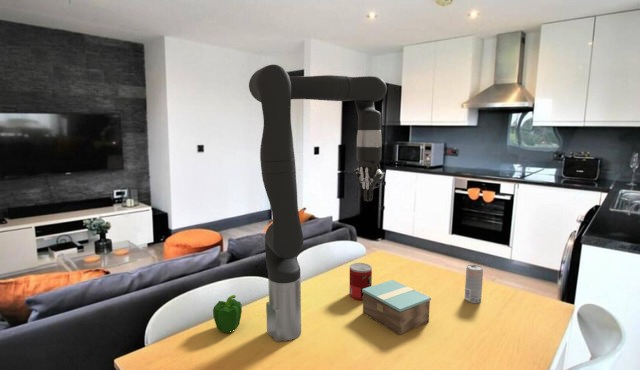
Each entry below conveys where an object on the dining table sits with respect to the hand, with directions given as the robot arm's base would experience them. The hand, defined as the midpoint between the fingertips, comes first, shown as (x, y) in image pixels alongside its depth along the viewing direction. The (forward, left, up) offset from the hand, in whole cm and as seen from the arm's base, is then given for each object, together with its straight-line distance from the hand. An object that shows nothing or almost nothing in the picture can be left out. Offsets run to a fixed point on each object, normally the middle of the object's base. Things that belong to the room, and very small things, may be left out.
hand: (368, 200), depth 115 cm
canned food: (+6, +10, -37) cm, 39 cm away
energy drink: (+36, -15, -37) cm, 54 cm away
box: (+5, -8, -37) cm, 38 cm away
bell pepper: (-41, +16, -37) cm, 58 cm away
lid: (+5, -8, -30) cm, 31 cm away
